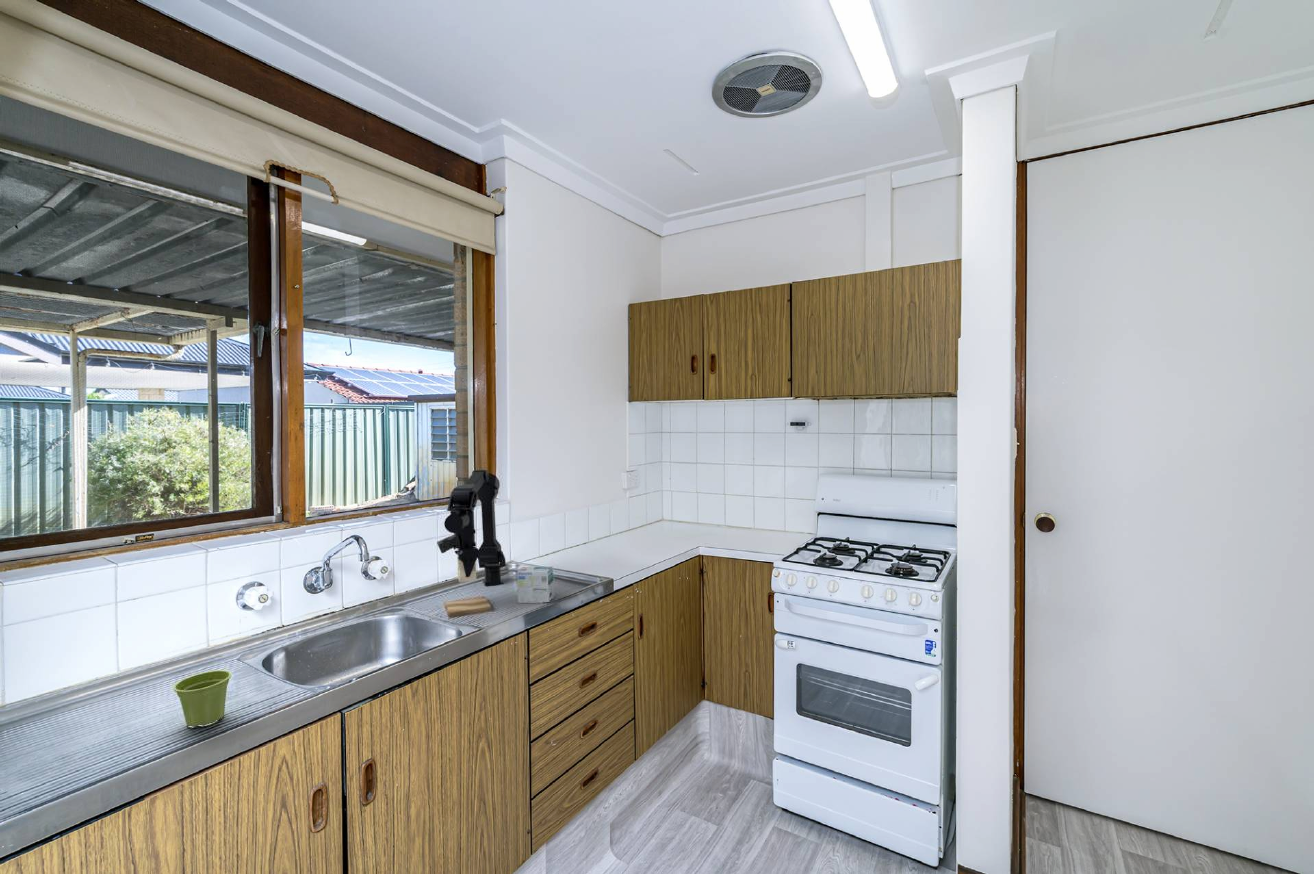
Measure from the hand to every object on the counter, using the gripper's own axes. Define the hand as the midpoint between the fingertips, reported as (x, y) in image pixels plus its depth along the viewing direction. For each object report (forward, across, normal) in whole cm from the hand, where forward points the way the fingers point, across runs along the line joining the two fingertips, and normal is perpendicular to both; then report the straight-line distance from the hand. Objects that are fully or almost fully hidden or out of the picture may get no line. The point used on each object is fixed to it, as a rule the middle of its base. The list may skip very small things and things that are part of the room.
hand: (466, 575), depth 189 cm
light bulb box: (+11, +2, +22) cm, 24 cm away
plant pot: (+11, +49, -58) cm, 76 cm away
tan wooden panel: (+11, 0, 0) cm, 11 cm away
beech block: (+2, 0, 0) cm, 2 cm away
